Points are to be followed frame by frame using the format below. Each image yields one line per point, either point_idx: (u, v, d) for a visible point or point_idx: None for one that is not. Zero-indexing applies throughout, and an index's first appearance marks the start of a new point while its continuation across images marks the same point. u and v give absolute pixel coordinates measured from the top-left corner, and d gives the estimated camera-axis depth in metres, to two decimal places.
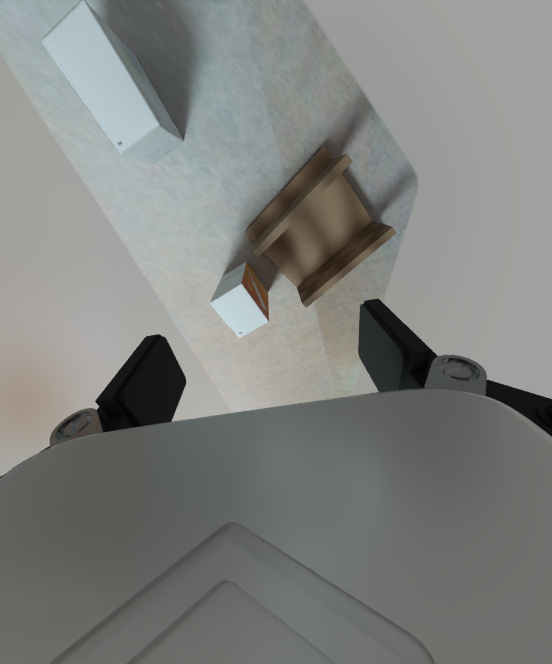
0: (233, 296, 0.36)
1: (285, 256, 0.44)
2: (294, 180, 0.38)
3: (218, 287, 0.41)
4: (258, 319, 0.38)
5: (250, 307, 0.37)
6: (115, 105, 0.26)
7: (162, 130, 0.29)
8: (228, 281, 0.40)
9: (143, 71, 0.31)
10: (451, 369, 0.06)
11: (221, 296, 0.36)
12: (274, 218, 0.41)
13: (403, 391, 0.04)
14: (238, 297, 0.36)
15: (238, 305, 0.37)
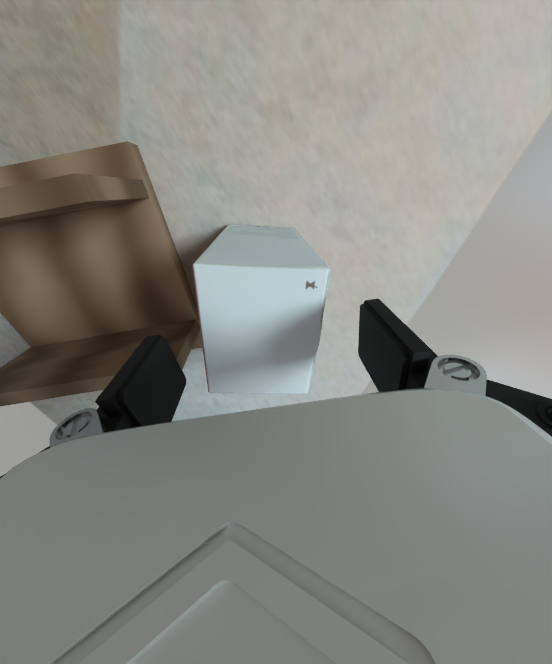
0: (246, 381, 0.14)
1: (153, 279, 0.22)
2: None
3: None
4: (223, 293, 0.11)
5: (223, 338, 0.12)
6: None
7: None
8: None
9: None
10: (451, 369, 0.06)
11: (272, 392, 0.14)
12: None
13: (403, 391, 0.04)
14: (236, 374, 0.13)
15: (250, 359, 0.13)
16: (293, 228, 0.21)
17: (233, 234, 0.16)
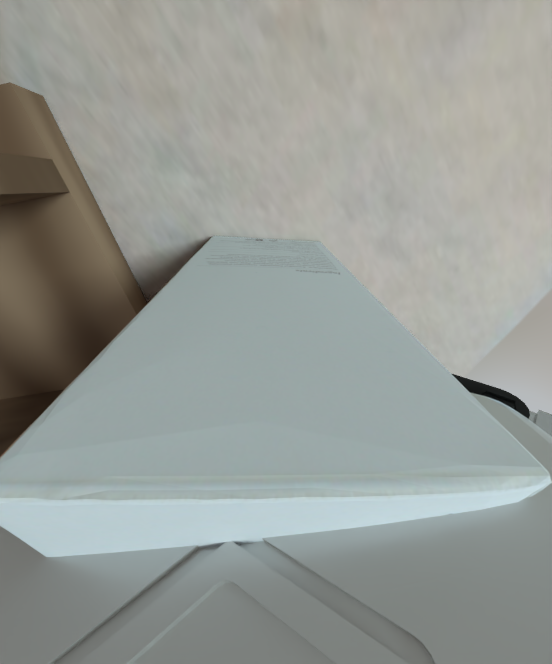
0: None
1: (96, 321, 0.14)
2: None
3: None
4: (129, 548, 0.03)
5: None
6: None
7: None
8: None
9: None
10: None
11: None
12: None
13: None
14: None
15: None
16: (317, 242, 0.13)
17: (212, 264, 0.08)
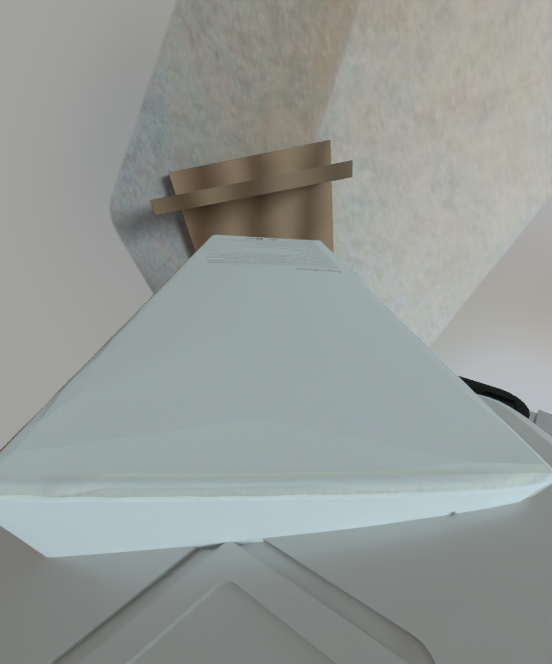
0: None
1: (313, 239, 0.30)
2: None
3: None
4: (128, 547, 0.03)
5: None
6: None
7: None
8: None
9: None
10: None
11: None
12: None
13: None
14: None
15: None
16: (318, 241, 0.13)
17: (212, 262, 0.08)
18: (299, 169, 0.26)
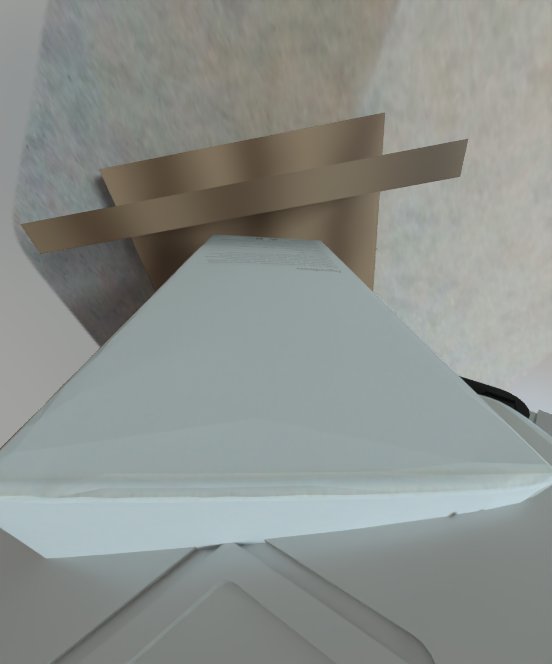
0: None
1: None
2: None
3: None
4: (127, 547, 0.03)
5: None
6: None
7: None
8: None
9: None
10: None
11: None
12: None
13: None
14: None
15: None
16: (318, 241, 0.13)
17: (212, 262, 0.08)
18: (327, 165, 0.15)
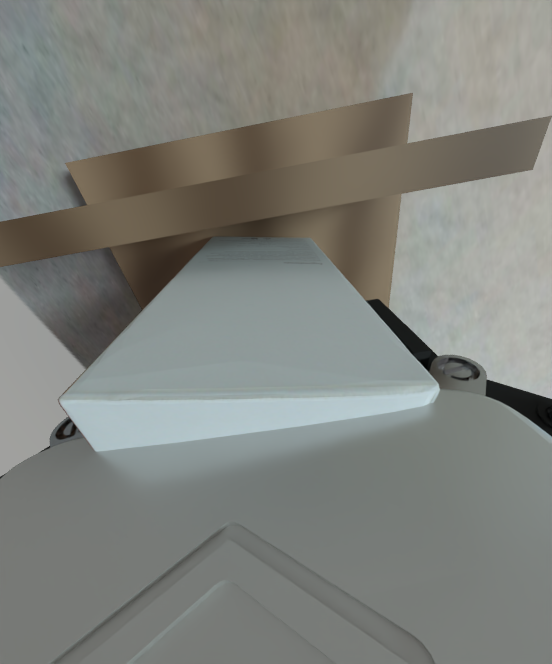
0: None
1: (356, 288, 0.17)
2: None
3: None
4: None
5: None
6: None
7: None
8: None
9: None
10: (451, 369, 0.06)
11: None
12: None
13: None
14: None
15: None
16: (308, 238, 0.14)
17: (211, 260, 0.10)
18: None
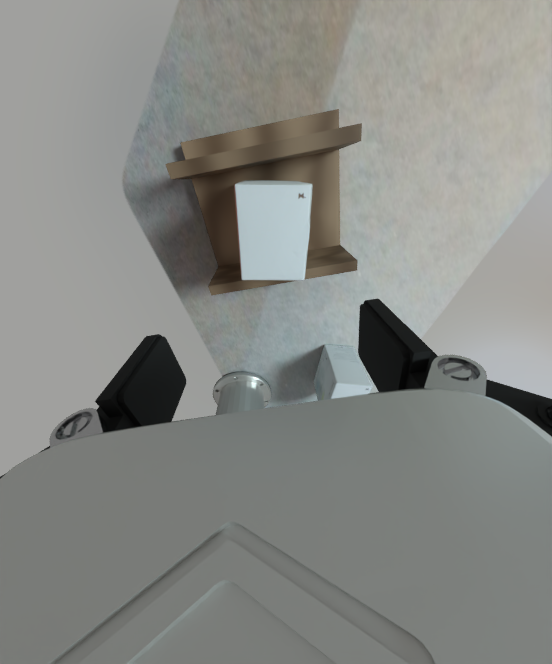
0: (264, 269, 0.22)
1: (320, 212, 0.31)
2: None
3: None
4: (251, 203, 0.19)
5: (251, 236, 0.20)
6: None
7: (336, 375, 0.38)
8: None
9: (316, 378, 0.48)
10: (451, 369, 0.06)
11: (281, 279, 0.22)
12: None
13: (403, 391, 0.04)
14: (258, 263, 0.21)
15: (267, 251, 0.21)
16: None
17: None
18: None
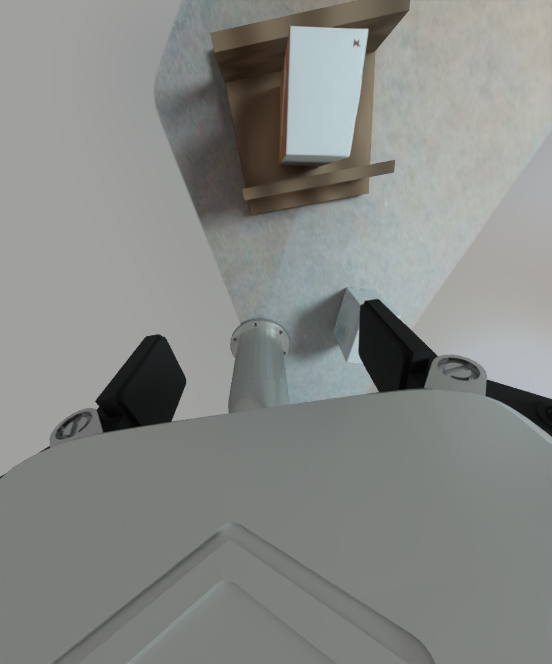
0: (310, 141, 0.21)
1: None
2: (291, 205, 0.35)
3: (329, 162, 0.27)
4: (304, 51, 0.18)
5: (300, 95, 0.20)
6: None
7: None
8: (310, 161, 0.27)
9: (336, 325, 0.47)
10: (451, 369, 0.06)
11: (326, 154, 0.22)
12: (331, 184, 0.34)
13: (403, 391, 0.04)
14: (305, 133, 0.21)
15: (315, 116, 0.20)
16: None
17: None
18: None
